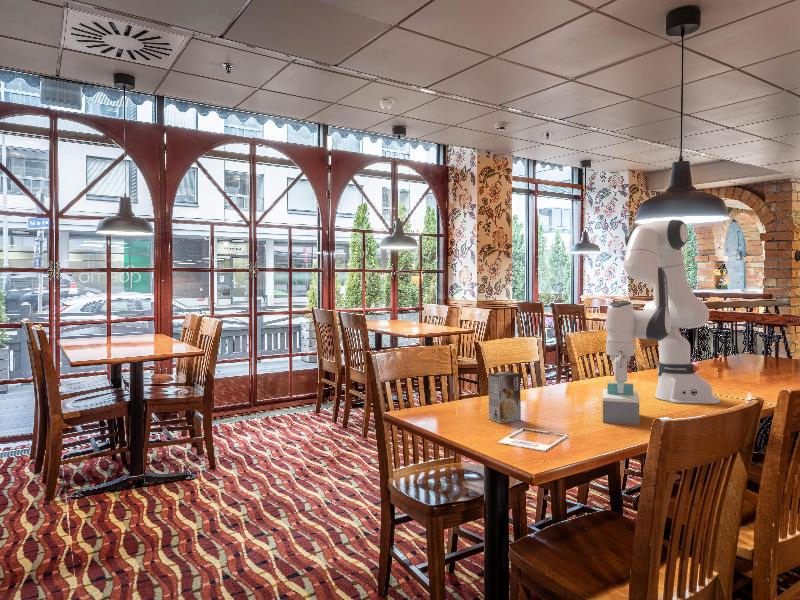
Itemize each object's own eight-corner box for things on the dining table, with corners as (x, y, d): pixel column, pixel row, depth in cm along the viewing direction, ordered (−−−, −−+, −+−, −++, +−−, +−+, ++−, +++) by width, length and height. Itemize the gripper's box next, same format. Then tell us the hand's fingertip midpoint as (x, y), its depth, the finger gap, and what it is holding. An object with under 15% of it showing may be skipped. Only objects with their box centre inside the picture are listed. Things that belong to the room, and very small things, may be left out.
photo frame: (497, 441, 163) (523, 427, 178) (497, 444, 163) (523, 430, 178) (544, 449, 155) (568, 434, 169) (544, 453, 155) (568, 438, 169)
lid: (636, 396, 192) (636, 380, 191) (639, 406, 178) (639, 388, 177) (602, 395, 195) (602, 378, 195) (602, 404, 181) (602, 387, 181)
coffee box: (509, 416, 195) (509, 370, 194) (521, 420, 189) (521, 373, 189) (488, 419, 191) (487, 373, 190) (499, 423, 185) (499, 376, 184)
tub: (636, 416, 192) (636, 393, 192) (639, 427, 178) (639, 402, 177) (602, 414, 196) (602, 391, 195) (602, 425, 182) (602, 400, 181)
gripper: (631, 354, 175) (631, 397, 176) (629, 346, 194) (629, 385, 195) (610, 353, 177) (610, 396, 178) (609, 345, 196) (609, 384, 197)
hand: (620, 390), depth 186 cm, fingers open, 5 cm apart
